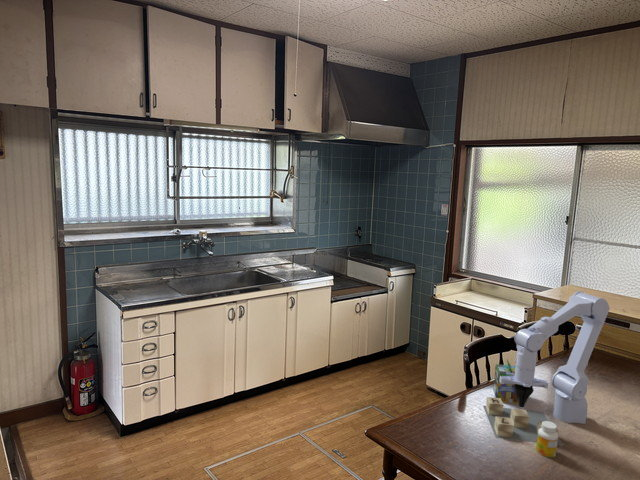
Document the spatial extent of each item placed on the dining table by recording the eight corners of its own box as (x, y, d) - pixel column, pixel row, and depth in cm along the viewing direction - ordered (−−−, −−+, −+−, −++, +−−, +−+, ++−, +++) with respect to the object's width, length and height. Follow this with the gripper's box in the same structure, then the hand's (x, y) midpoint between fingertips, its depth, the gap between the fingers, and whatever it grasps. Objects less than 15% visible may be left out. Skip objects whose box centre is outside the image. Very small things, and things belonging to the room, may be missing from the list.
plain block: (524, 421, 154) (525, 409, 154) (528, 428, 150) (529, 416, 149) (510, 419, 155) (511, 408, 154) (513, 426, 151) (514, 415, 150)
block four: (499, 409, 162) (500, 398, 161) (502, 415, 157) (503, 404, 157) (485, 407, 162) (487, 396, 162) (488, 414, 158) (489, 403, 157)
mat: (542, 414, 161) (542, 411, 161) (563, 448, 141) (564, 445, 141) (482, 408, 164) (482, 405, 164) (495, 440, 144) (495, 437, 144)
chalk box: (523, 407, 166) (527, 368, 163) (496, 403, 167) (500, 364, 165) (517, 395, 175) (522, 357, 172) (492, 391, 176) (496, 354, 174)
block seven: (508, 429, 149) (510, 417, 148) (512, 437, 144) (513, 425, 144) (494, 427, 150) (495, 416, 149) (497, 435, 145) (498, 423, 144)
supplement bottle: (531, 449, 140) (535, 419, 139) (548, 449, 141) (552, 419, 139) (541, 460, 135) (545, 429, 134) (559, 460, 136) (563, 429, 134)
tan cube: (551, 434, 147) (553, 422, 146) (556, 442, 143) (558, 430, 142) (536, 432, 148) (538, 420, 147) (541, 440, 143) (542, 428, 143)
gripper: (505, 369, 146) (500, 409, 149) (553, 374, 144) (548, 414, 147) (499, 360, 153) (495, 398, 155) (546, 365, 151) (541, 403, 153)
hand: (520, 405), depth 151 cm, fingers closed
